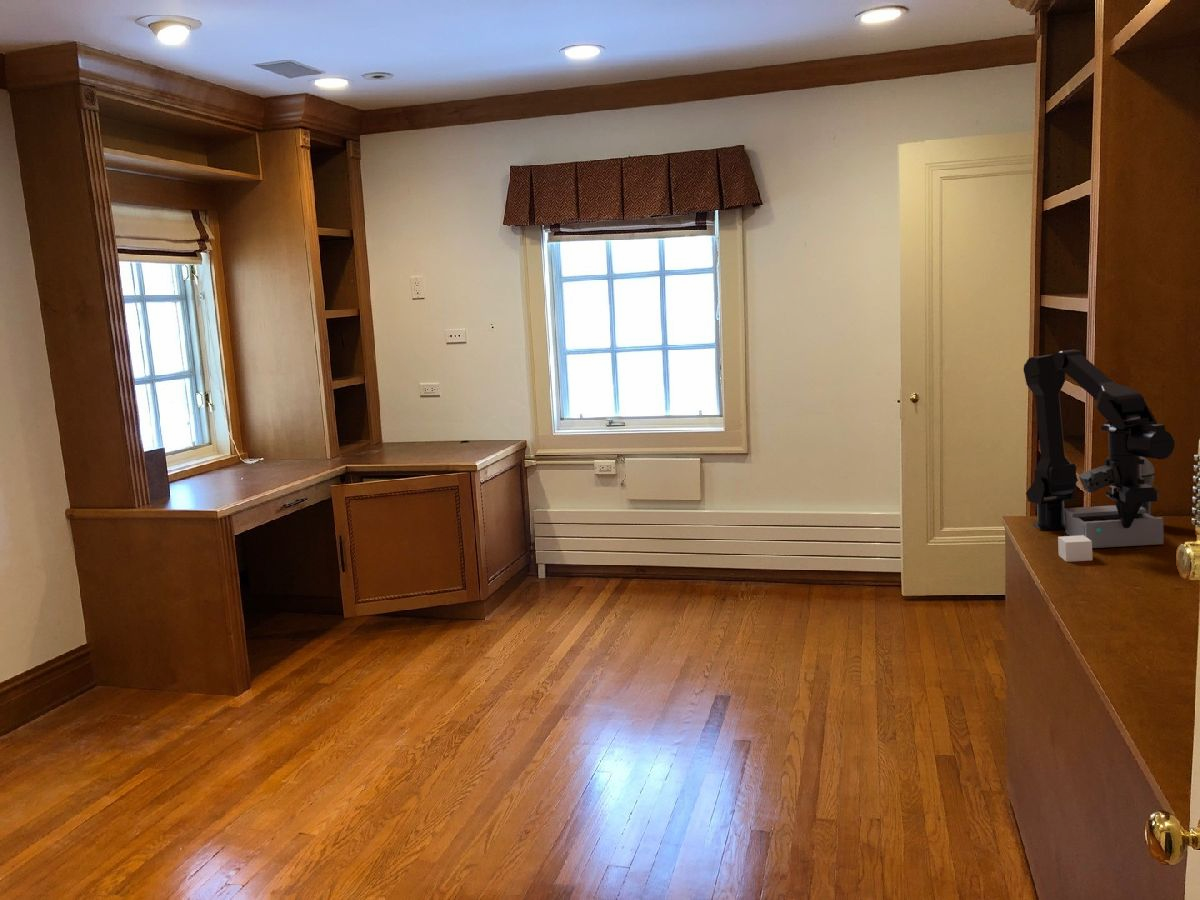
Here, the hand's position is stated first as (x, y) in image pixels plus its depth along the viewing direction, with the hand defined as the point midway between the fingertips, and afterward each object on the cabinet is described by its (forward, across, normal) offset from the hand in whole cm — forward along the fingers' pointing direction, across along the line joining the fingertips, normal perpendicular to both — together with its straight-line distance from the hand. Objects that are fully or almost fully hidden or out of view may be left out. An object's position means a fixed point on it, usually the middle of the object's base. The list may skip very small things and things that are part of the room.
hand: (1126, 527), depth 203 cm
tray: (+4, -7, 0) cm, 8 cm away
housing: (+4, -9, 0) cm, 10 cm away
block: (+4, +5, -12) cm, 13 cm away
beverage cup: (+5, -20, +10) cm, 23 cm away
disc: (+3, -8, 0) cm, 9 cm away
